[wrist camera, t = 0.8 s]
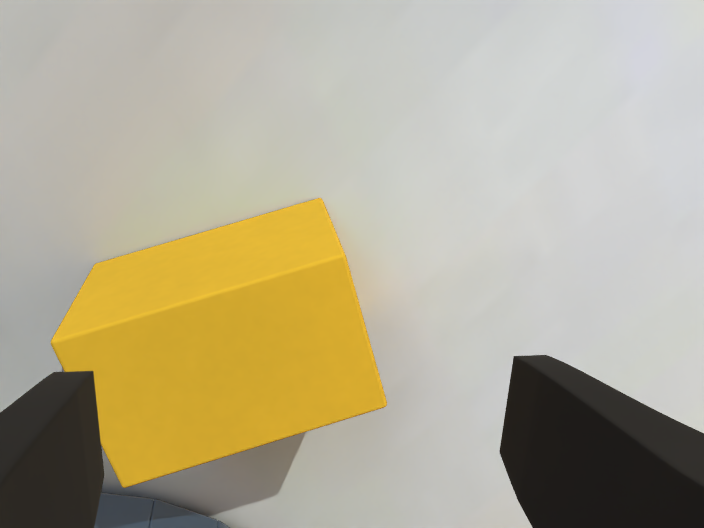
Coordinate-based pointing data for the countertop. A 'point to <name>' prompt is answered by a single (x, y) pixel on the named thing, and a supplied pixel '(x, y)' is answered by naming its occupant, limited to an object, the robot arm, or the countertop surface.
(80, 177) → the countertop surface
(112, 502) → the bowl
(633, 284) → the countertop surface
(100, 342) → the sponge
